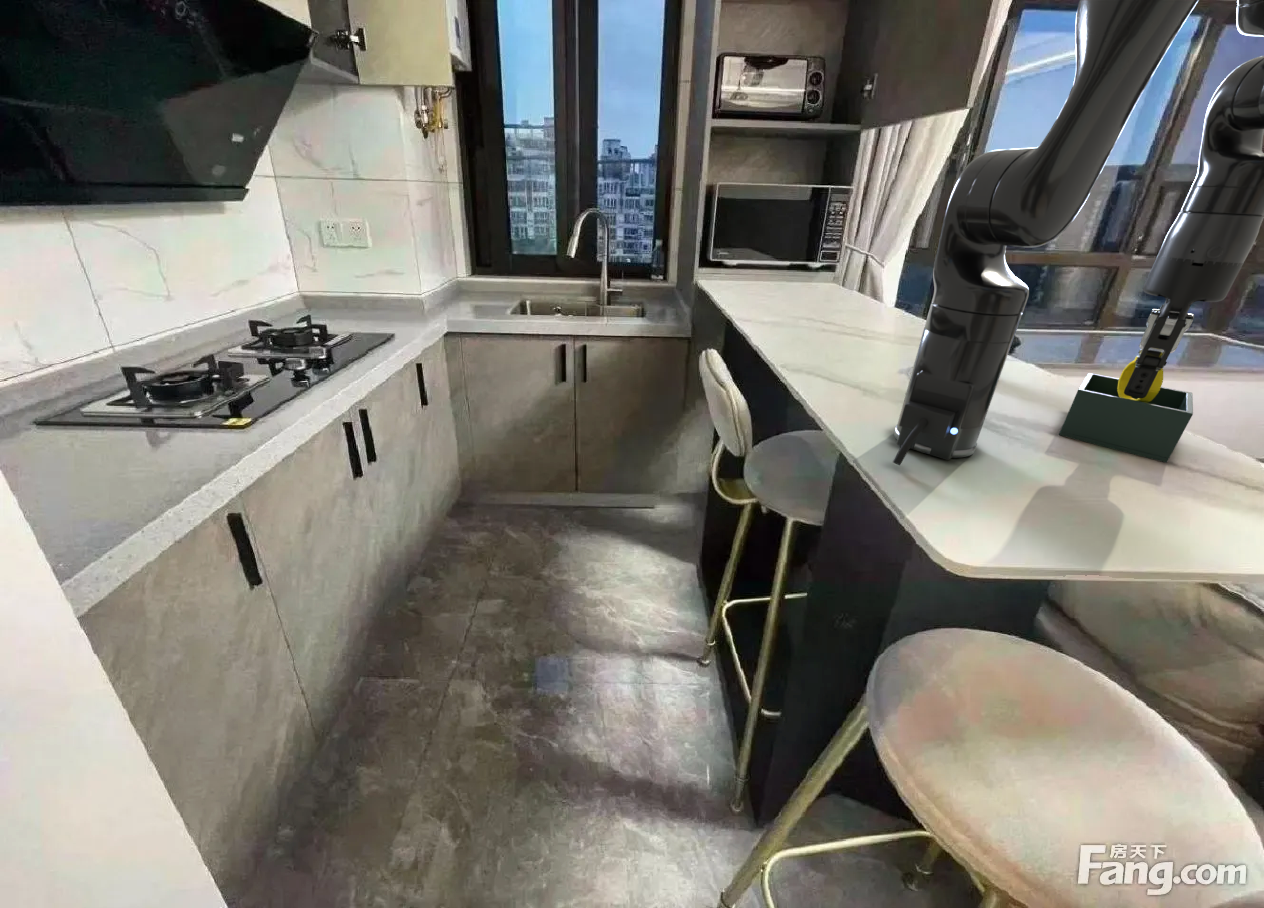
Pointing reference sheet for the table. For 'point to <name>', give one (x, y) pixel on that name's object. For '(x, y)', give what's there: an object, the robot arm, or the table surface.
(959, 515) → the table surface
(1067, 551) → the table surface
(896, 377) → the table surface
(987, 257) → the robot arm
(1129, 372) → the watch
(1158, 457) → the waste bin
